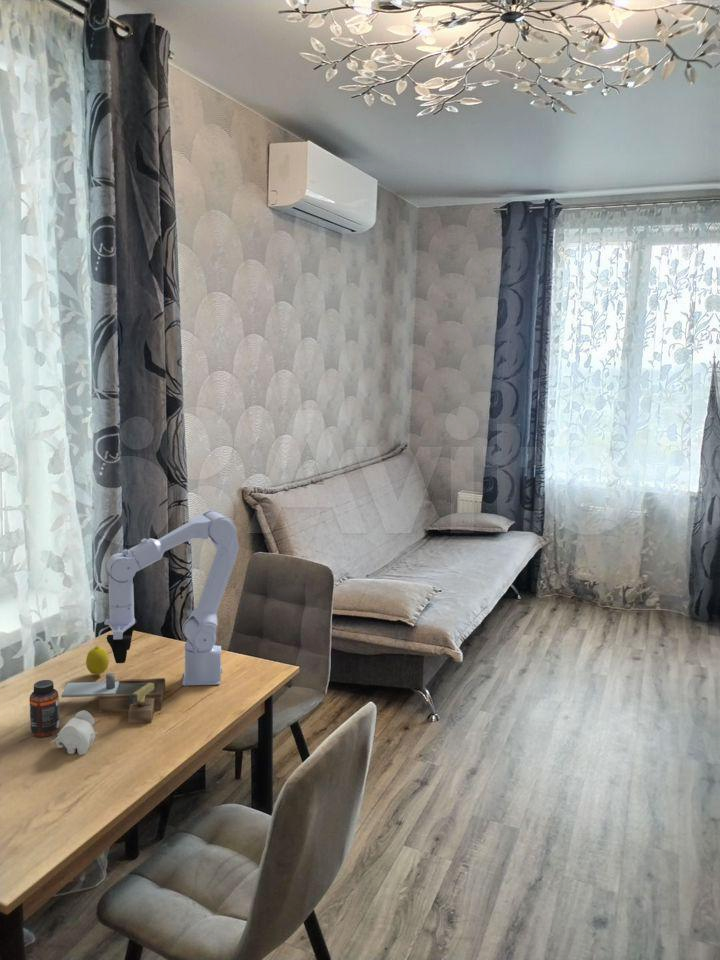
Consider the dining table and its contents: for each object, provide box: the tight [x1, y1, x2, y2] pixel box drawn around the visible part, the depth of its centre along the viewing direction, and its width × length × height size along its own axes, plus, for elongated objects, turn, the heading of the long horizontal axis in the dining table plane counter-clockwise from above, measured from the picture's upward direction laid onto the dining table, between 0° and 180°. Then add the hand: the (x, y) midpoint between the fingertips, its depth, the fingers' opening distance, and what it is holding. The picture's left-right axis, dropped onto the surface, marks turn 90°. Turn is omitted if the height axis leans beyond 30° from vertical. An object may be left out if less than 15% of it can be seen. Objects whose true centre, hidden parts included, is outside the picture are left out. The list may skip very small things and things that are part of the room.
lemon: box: [85, 646, 110, 677], centre depth 190 cm, size 6×6×8 cm
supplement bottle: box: [29, 679, 61, 738], centre depth 162 cm, size 6×6×11 cm
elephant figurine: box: [49, 710, 98, 756], centre depth 155 cm, size 8×10×7 cm
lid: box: [61, 672, 119, 698], centre depth 175 cm, size 12×6×4 cm, turn 99°
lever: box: [127, 683, 154, 706], centre depth 169 cm, size 8×2×4 cm, turn 160°
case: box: [98, 677, 166, 724], centre depth 175 cm, size 14×16×4 cm
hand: (122, 656), depth 180 cm, fingers open, 7 cm apart
